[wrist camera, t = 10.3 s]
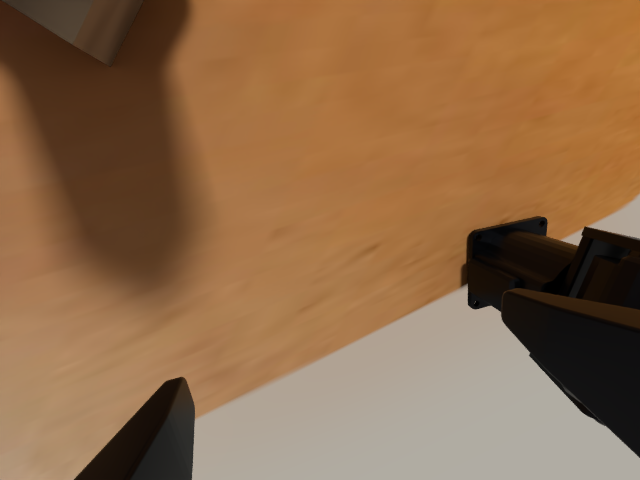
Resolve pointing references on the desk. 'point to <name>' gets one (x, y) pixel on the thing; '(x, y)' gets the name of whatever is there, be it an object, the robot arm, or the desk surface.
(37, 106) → the desk surface
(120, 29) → the beige block
